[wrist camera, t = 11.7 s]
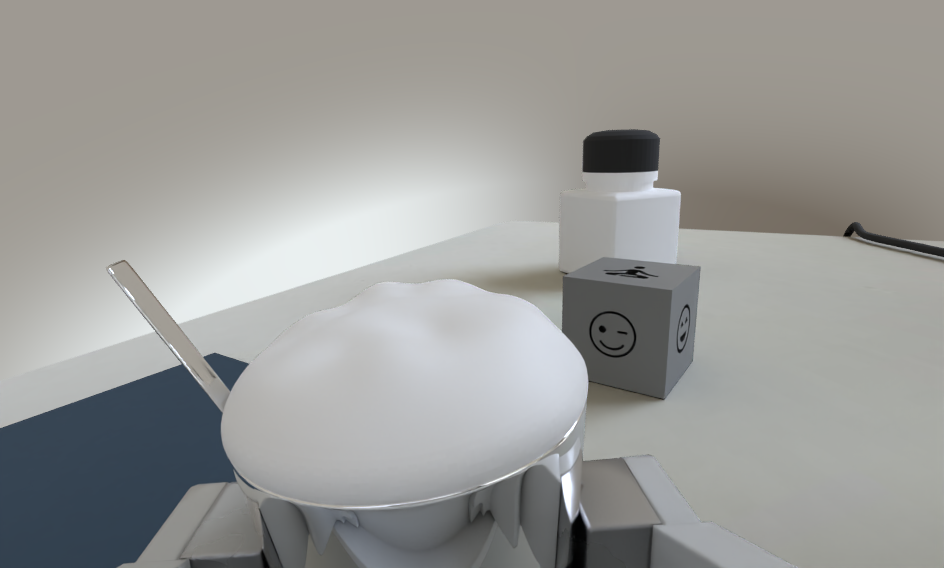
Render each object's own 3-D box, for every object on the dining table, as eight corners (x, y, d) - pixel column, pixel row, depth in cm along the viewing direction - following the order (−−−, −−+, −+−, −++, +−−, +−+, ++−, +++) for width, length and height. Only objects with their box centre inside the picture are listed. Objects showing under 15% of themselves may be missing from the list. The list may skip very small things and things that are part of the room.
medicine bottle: (677, 276, 44) (687, 127, 41) (611, 288, 41) (618, 128, 38) (617, 261, 50) (623, 131, 47) (557, 271, 47) (558, 132, 44)
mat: (215, 359, 29) (214, 352, 29) (449, 437, 21) (449, 428, 21) (-538, 633, 13) (-547, 620, 13) (-902, 1511, 5) (-931, 1491, 4)
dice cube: (561, 374, 26) (563, 276, 25) (600, 342, 30) (603, 256, 29) (664, 399, 23) (671, 290, 22) (692, 360, 27) (700, 266, 26)
